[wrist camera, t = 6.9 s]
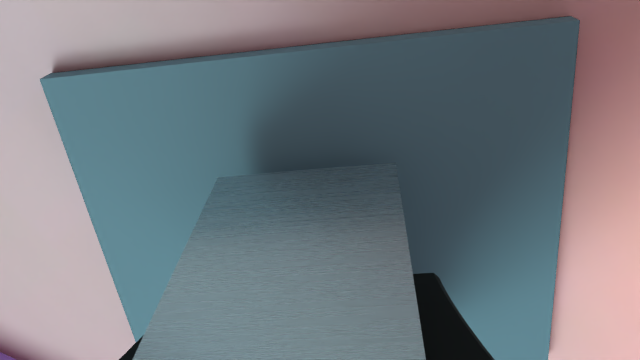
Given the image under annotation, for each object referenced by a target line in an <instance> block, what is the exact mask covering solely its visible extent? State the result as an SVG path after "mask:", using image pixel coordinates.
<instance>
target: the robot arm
mask: <svg viewBox="0 0 640 360" xmlns="http://www.w3.org/2000/svg"><path fill="white" fill-rule="evenodd" d="M413 279H414V285H415V292H416V298H417V305H418V311H419V318H420V324H421V331H422V337H423V344H424V350H425V357H426V360H495V359H494V358H493V357H492V356H491V354H490V353H489V352H488V351H487V350H486V348H485V347H484V346H483V344H482V343H481V342H480V340H479V339H478V338H477V336H476V335H475V334H474V332H473V331H472V330H471V328H470V327H469V326H468V324H467V323H466V321H465V320H464V318H463V317H462V315H461V314H460V312H459V311H458V309H457V308H456V306H455V305H454V303H453V302H452V300H451V298H450V297H449V295H448V293H447V292H446V290H445V288H444V286H443V284H442V282H441V280H440V278H439V277H438V276H437V275H436V274H435V273H420V274H413ZM143 336H144V335H143ZM143 336H142V337H141V338H140V339H139V340H138V341H137V342H136V343H135V344H134V345H133V346H132V347H131V348H130V349H129V350H128V351H127V352H126V353H125V354H124V355H123V356H122V357H121V358H120V359H119V360H132V359H133V357H134V355H135V353H136V351H137V349H138V346H139V344H140V342H141V340H142V338H143Z"/></svg>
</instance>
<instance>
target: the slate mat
mask: <svg viewBox="0 0 640 360" xmlns="http://www.w3.org/2000/svg"><path fill="white" fill-rule="evenodd" d="M579 23H580V20H578V19H576V18H574V17H572V16H568V17H558V18H549V19H540V20H531V21H522V22H513V23H504V24H495V25H486V26H477V27H468V28H458V29H449V30H440V31H431V32H422V33H413V34H404V35H395V36H386V37H377V38H368V39H359V40H349V41H340V42H331V43H322V44H313V45H304V46H295V47H286V48H277V49H268V50H259V51H249V52H240V53H231V54H222V55H213V56H204V57H195V58H186V59H177V60H168V61H159V62H149V63H140V64H131V65H122V66H113V67H104V68H95V69H86V70H77V71H68V72H59V73H50V74H49V75H47V76H45V77H43V78H41V79H40V82H41V84H42V87H43V90H44V92H45V95H46V98H47V101H48V103H49V106H50V109H51V112H52V114H53V117H54V120H55V122H56V125H57V128H58V131H59V133H60V136H61V139H62V142H63V144H64V147H65V150H66V153H67V155H68V158H69V161H70V163H71V166H72V169H73V172H74V174H75V177H76V180H77V183H78V185H79V188H80V191H81V193H82V196H83V199H84V202H85V204H86V207H87V210H88V213H89V215H90V218H91V221H92V223H93V226H94V229H95V232H96V234H97V237H98V240H99V243H100V245H101V248H102V251H103V254H104V256H105V259H106V262H107V264H108V267H109V270H110V273H111V275H112V278H113V281H114V284H115V286H116V289H117V292H118V294H119V297H120V300H121V303H122V305H123V308H124V311H125V314H126V316H127V319H128V322H129V324H130V327H131V330H132V333H133V335H134V338H135V341H136V342H137V341H138V340H139V339H140V338H141V337H142V336H143V335H144V334H145V331H146V329H147V327H148V325H149V323H150V321H151V319H152V317H153V314H154V312H155V310H156V308H157V306H158V304H159V302H160V299H161V297H162V295H163V293H164V291H165V289H166V287H167V285H168V282H169V280H170V278H171V276H172V274H173V272H174V270H175V267H176V265H177V263H178V261H179V259H180V257H181V255H182V252H183V250H184V248H185V246H186V244H187V242H188V240H189V238H190V235H191V233H192V231H193V229H194V227H195V225H196V223H197V220H198V218H199V216H200V214H201V212H202V210H203V208H204V206H205V203H206V201H207V199H208V197H209V195H210V193H211V191H212V188H213V186H214V184H215V182H216V180H217V178H218V177H228V176H240V175H252V174H264V173H275V172H287V171H299V170H311V169H323V168H335V167H347V166H358V165H370V164H382V163H394V162H396V168H397V174H398V181H399V187H400V194H401V200H402V207H403V213H404V220H405V227H406V233H407V240H408V246H409V253H410V259H411V266H412V272H413V274H420V273H435V274H436V275H437V276H438V277H439V278H440V280H441V282H442V284H443V286H444V288H445V290H446V292H447V293H448V295H449V297H450V298H451V300H452V302H453V303H454V305H455V306H456V308H457V309H458V311H459V312H460V314H461V315H462V317H463V318H464V320H465V321H466V323H467V324H468V326H469V327H470V328H471V330H472V331H473V332H474V334H475V335H476V336H477V338H478V339H479V340H480V342H481V343H482V344H483V346H484V347H485V348H486V350H487V351H488V352H489V353H490V354H491V356H492V357H493V358H494V359H495V360H548V353H549V342H550V332H551V321H552V311H553V300H554V289H555V279H556V268H557V257H558V247H559V236H560V225H561V215H562V204H563V193H564V183H565V172H566V161H567V151H568V140H569V130H570V119H571V108H572V98H573V87H574V76H575V66H576V55H577V44H578V34H579Z"/></svg>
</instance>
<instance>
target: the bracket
mask: <svg viewBox="0 0 640 360" xmlns="http://www.w3.org/2000/svg"><path fill="white" fill-rule="evenodd" d="M0 360H17V359H14V358H12V357H10V356H8V355H6V354H3V353H1V352H0Z"/></svg>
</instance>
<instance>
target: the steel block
mask: <svg viewBox="0 0 640 360" xmlns="http://www.w3.org/2000/svg"><path fill="white" fill-rule="evenodd" d="M132 360H426V357H425V350H424V344H423V337H422V331H421V324H420V318H419V311H418V305H417V298H416V292H415V285H414V279H413V272H412V266H411V259H410V253H409V246H408V240H407V233H406V227H405V220H404V213H403V207H402V200H401V194H400V187H399V181H398V174H397V168H396V162H394V163H382V164H370V165H358V166H347V167H335V168H323V169H311V170H299V171H287V172H275V173H264V174H252V175H240V176H228V177H218V178H217V180H216V182H215V184H214V186H213V188H212V191H211V193H210V195H209V197H208V199H207V201H206V203H205V206H204V208H203V210H202V212H201V214H200V216H199V218H198V220H197V223H196V225H195V227H194V229H193V231H192V233H191V235H190V238H189V240H188V242H187V244H186V246H185V248H184V250H183V252H182V255H181V257H180V259H179V261H178V263H177V265H176V267H175V270H174V272H173V274H172V276H171V278H170V280H169V282H168V285H167V287H166V289H165V291H164V293H163V295H162V297H161V299H160V302H159V304H158V306H157V308H156V310H155V312H154V314H153V317H152V319H151V321H150V323H149V325H148V327H147V329H146V331H145V334H144V336H143V338H142V340H141V342H140V344H139V346H138V349H137V351H136V353H135V355H134V357H133V359H132Z"/></svg>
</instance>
